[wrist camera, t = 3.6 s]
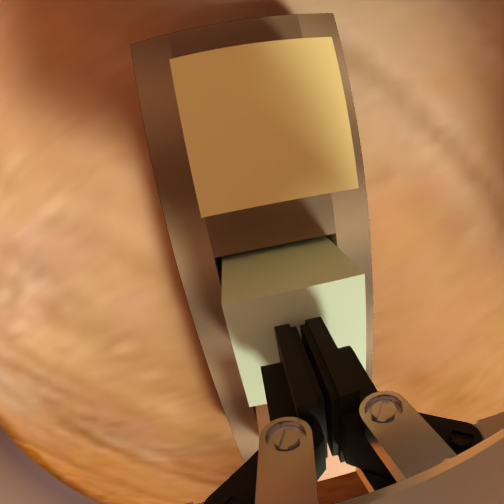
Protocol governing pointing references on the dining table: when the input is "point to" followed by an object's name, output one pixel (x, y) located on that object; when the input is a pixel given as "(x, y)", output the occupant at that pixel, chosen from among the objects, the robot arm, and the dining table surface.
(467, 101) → the dining table surface
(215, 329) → the wooden tray
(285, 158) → the yellow cube
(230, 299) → the pale green cube
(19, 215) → the dining table surface
